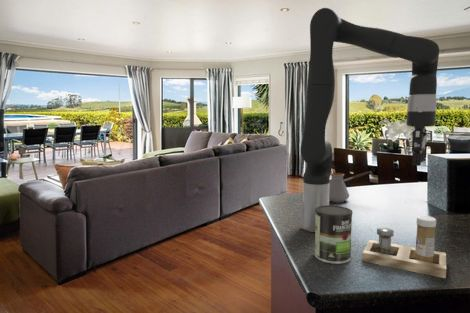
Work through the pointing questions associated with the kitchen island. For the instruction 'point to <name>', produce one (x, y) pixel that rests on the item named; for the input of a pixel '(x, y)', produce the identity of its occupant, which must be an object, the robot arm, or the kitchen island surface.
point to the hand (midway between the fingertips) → (417, 163)
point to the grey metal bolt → (385, 240)
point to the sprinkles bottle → (425, 239)
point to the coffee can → (333, 234)
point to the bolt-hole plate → (405, 259)
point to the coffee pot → (340, 187)
